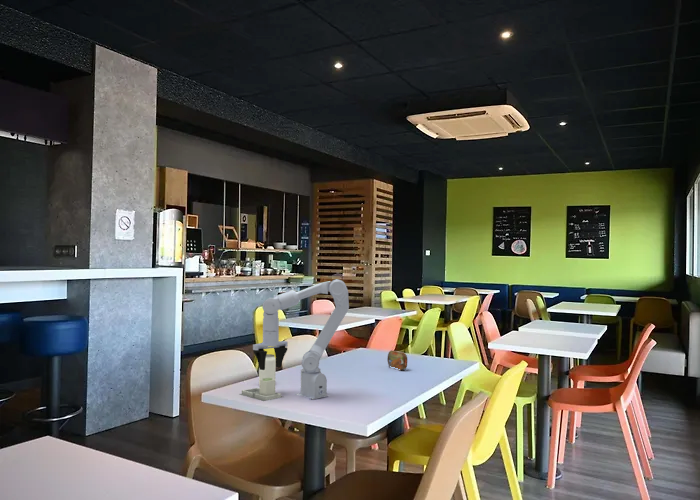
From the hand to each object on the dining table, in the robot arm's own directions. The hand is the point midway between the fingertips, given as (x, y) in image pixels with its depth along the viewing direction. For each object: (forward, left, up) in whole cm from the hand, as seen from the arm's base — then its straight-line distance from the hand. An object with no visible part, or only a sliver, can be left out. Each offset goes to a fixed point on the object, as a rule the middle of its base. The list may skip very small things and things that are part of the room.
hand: (270, 368), depth 198 cm
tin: (+4, -78, -10) cm, 79 cm away
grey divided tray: (+1, +3, -10) cm, 11 cm away
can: (+16, -11, -10) cm, 22 cm away
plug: (-3, +3, -9) cm, 10 cm away
